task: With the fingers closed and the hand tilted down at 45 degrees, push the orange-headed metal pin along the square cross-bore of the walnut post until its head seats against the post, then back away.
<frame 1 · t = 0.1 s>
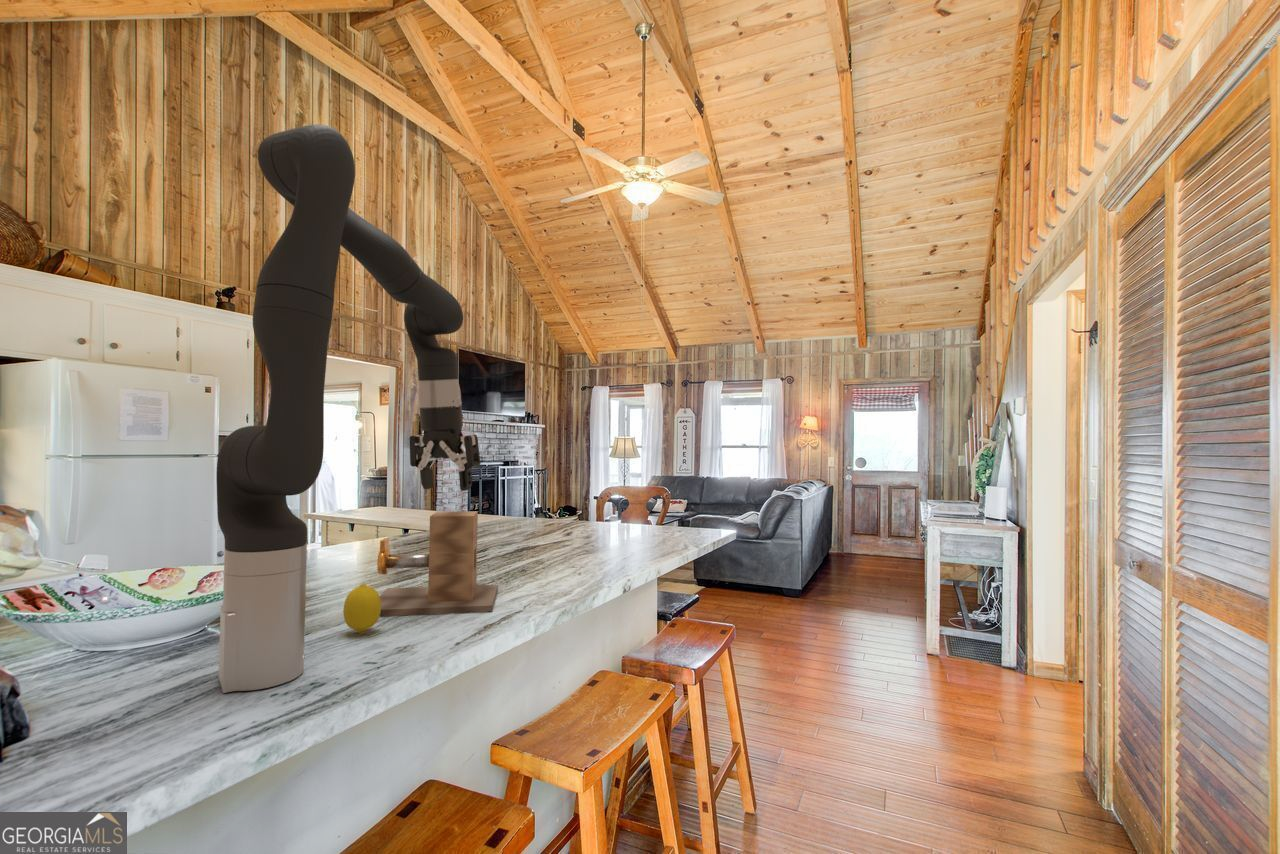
hand: (446, 489, 111), 22 cm above the countertop, tool pointing down, fingers open, 8 cm apart
hitch post: (453, 602, 114), on the countertop
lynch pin: (415, 556, 113), point 9 cm above the countertop, slide at 8.0 cm
lemon: (361, 634, 95), on the countertop
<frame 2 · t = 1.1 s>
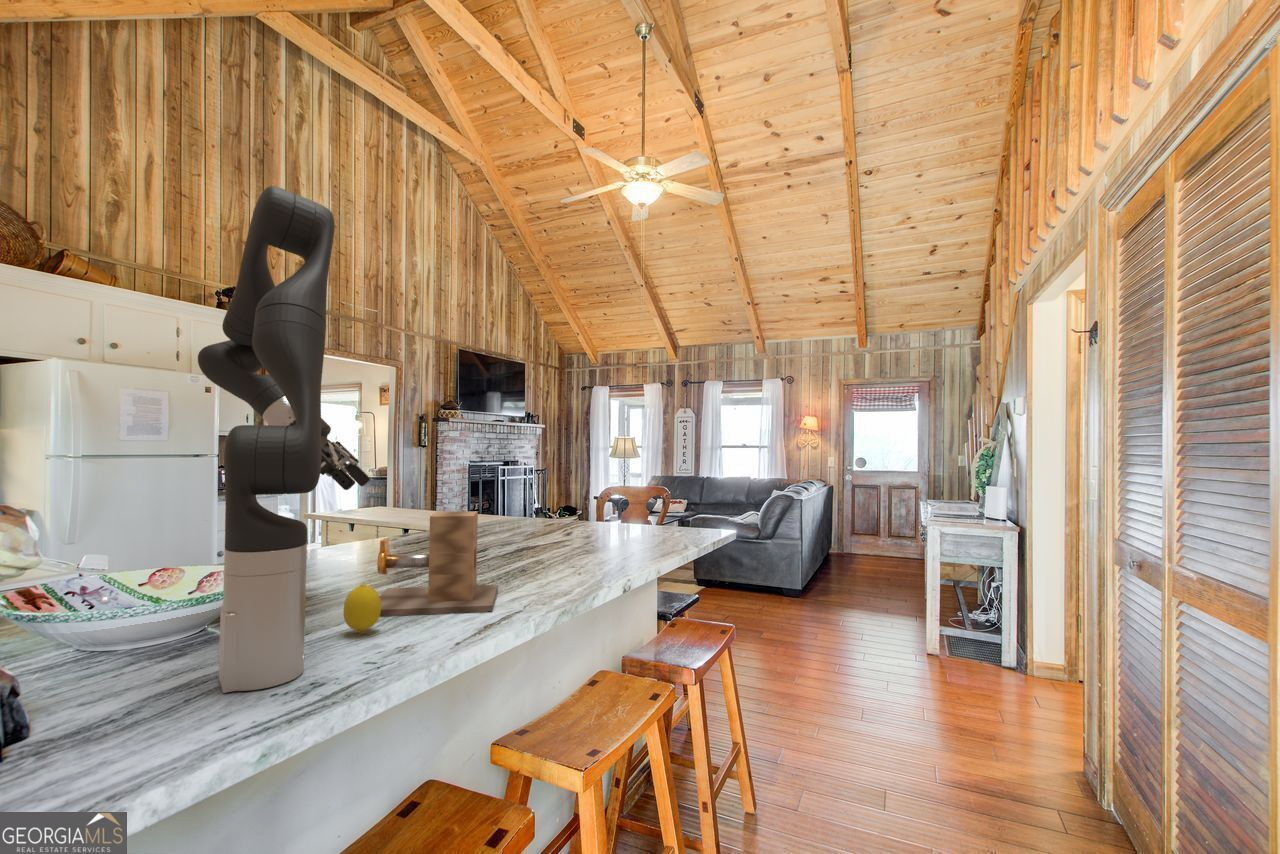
hand: (359, 484, 111), 23 cm above the countertop, tool tilted 45°, fingers open, 8 cm apart
nothing on the countertop moved.
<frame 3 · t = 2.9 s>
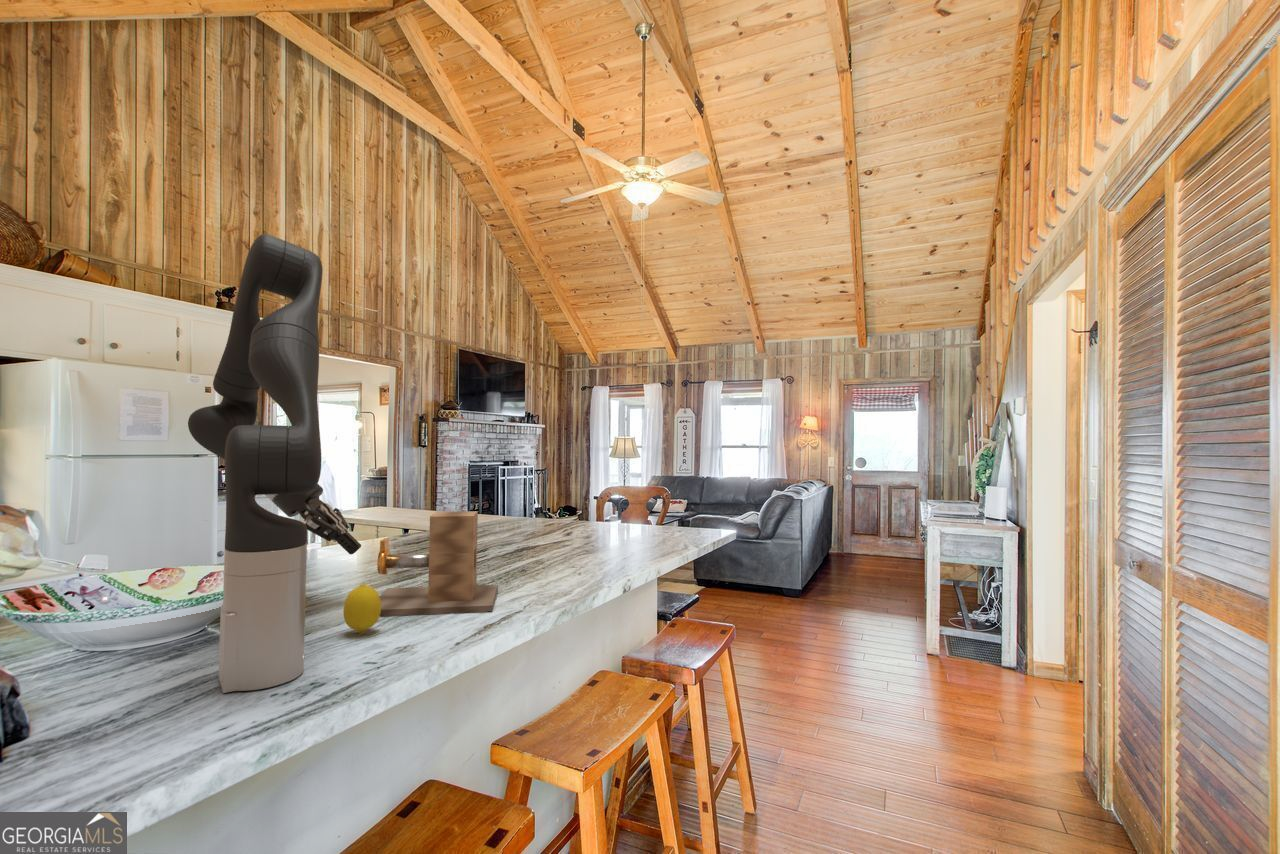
hand: (356, 550, 111), 10 cm above the countertop, tool tilted 45°, fingers closed
nothing on the countertop moved.
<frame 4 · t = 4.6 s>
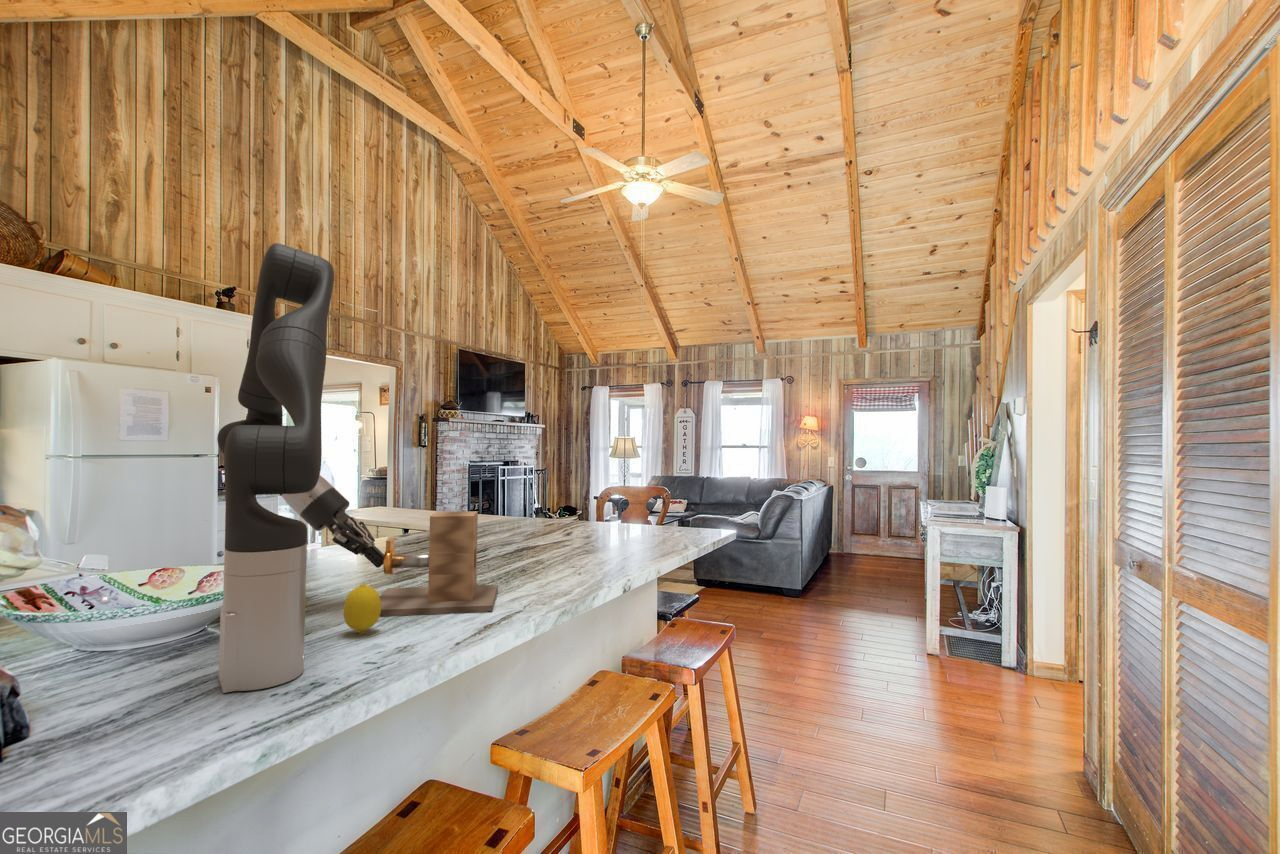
hand: (383, 563, 112), 8 cm above the countertop, tool tilted 45°, fingers closed
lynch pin: (420, 556, 113), point 9 cm above the countertop, slide at 6.9 cm, touching gripper
everything else where it was.
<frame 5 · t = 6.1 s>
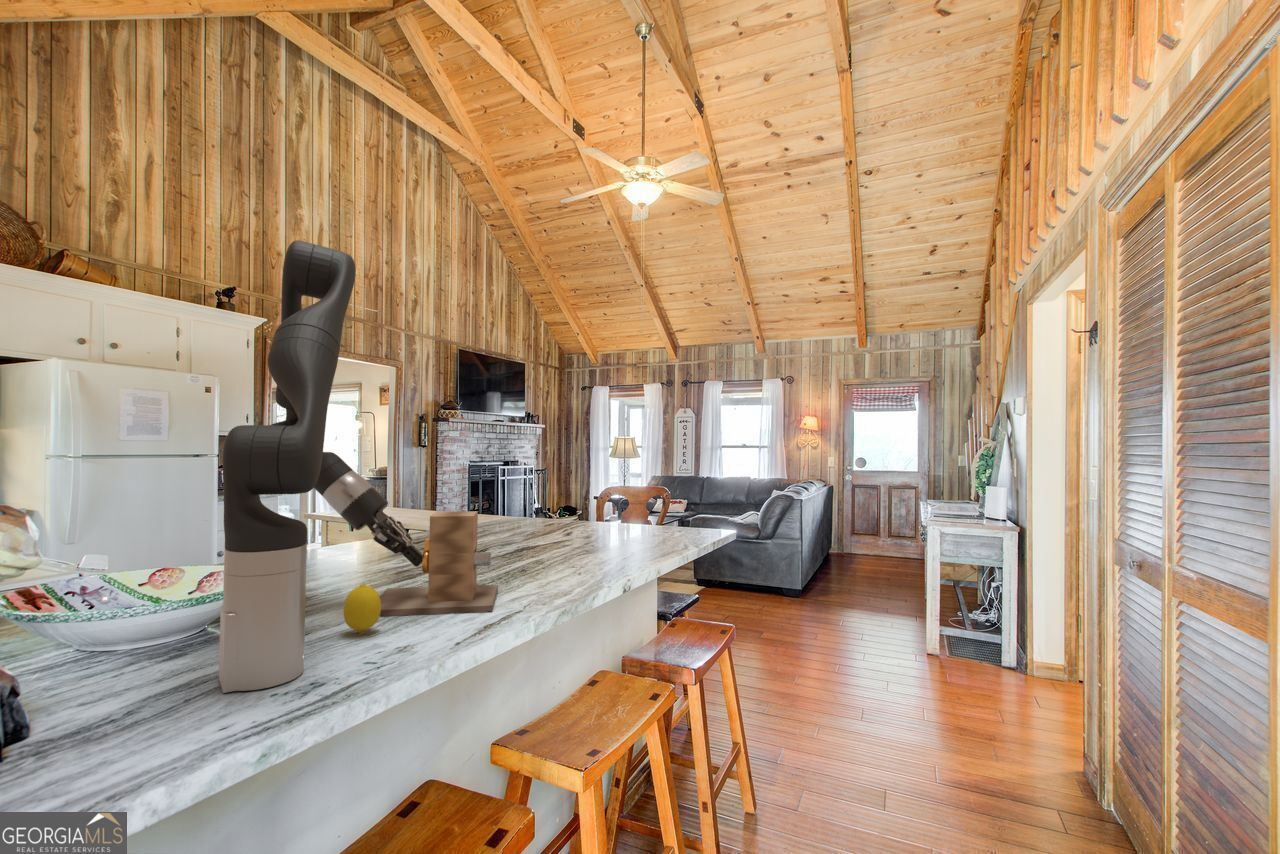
hand: (421, 562, 113), 8 cm above the countertop, tool tilted 45°, fingers closed
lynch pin: (458, 555, 114), point 9 cm above the countertop, slide at 0.0 cm, touching gripper
everything else where it was.
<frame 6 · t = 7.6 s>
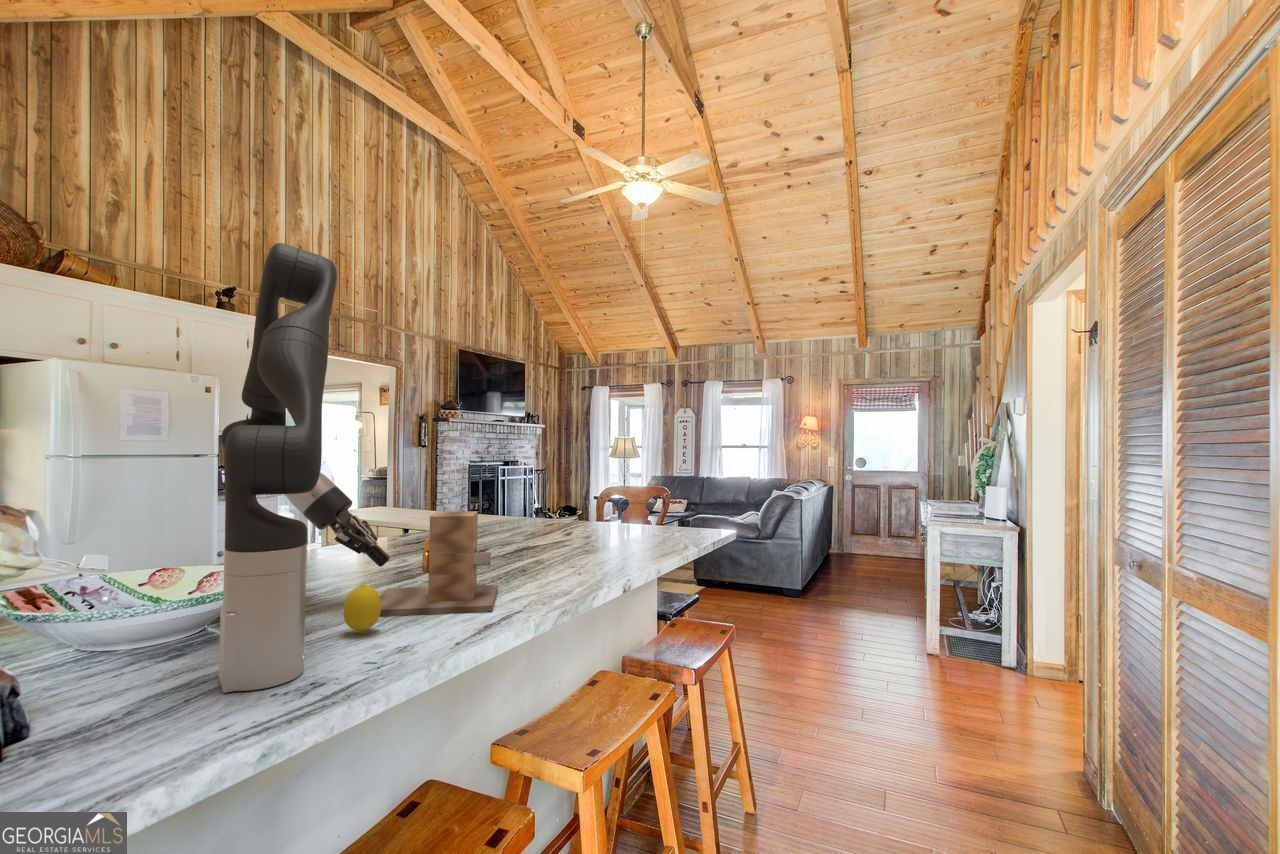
hand: (385, 562, 112), 8 cm above the countertop, tool tilted 45°, fingers closed
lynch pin: (458, 555, 114), point 9 cm above the countertop, slide at 0.0 cm
everything else where it was.
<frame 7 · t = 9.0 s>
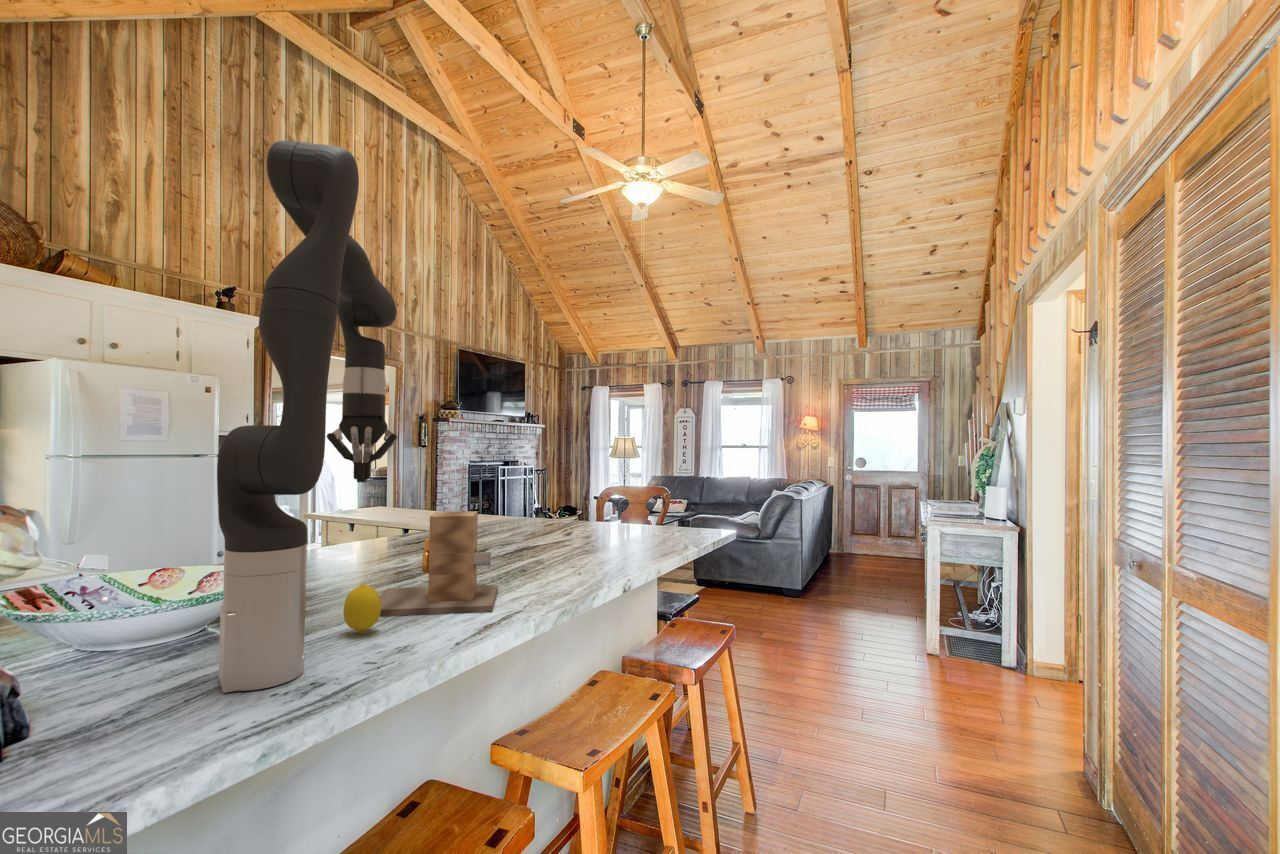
hand: (362, 482, 113), 23 cm above the countertop, tool pointing down, fingers closed
nothing on the countertop moved.
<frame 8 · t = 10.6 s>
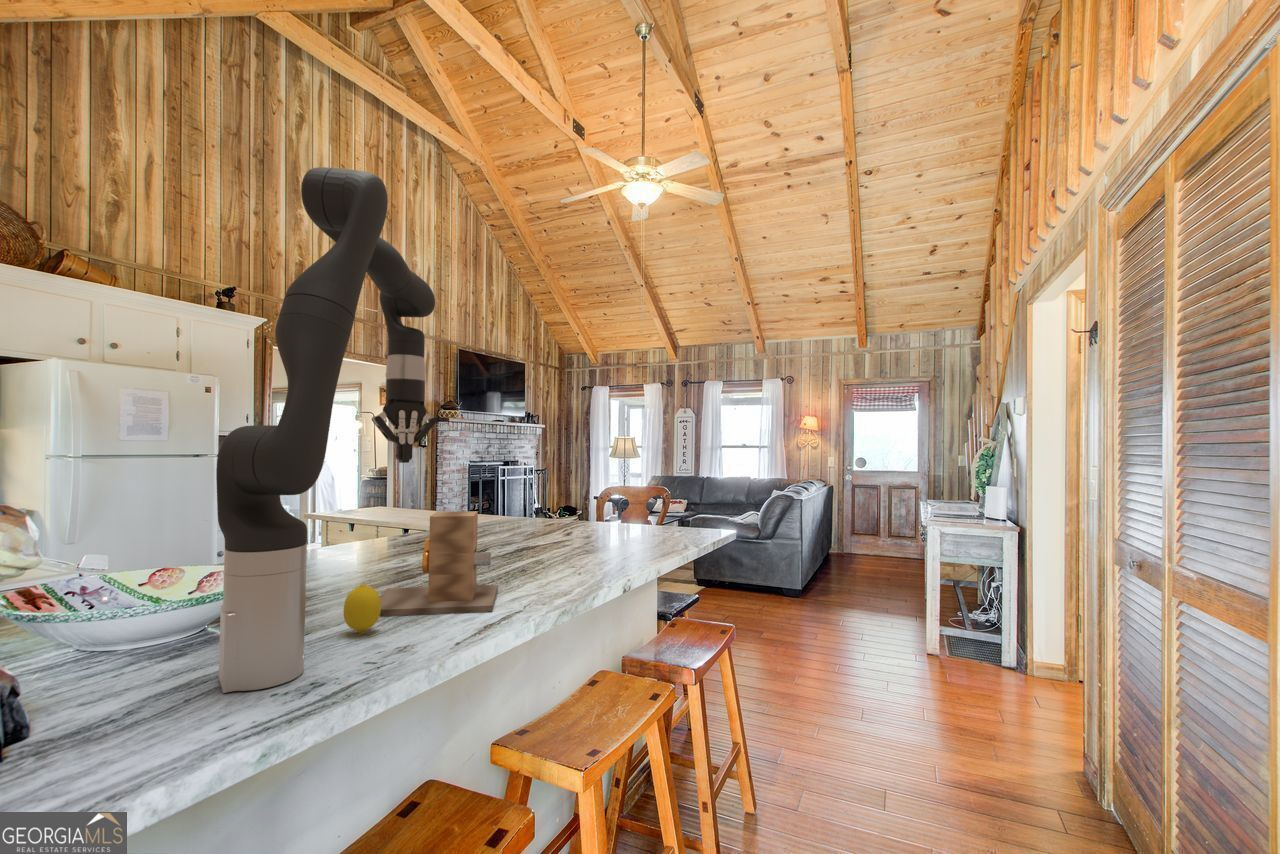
hand: (404, 462, 120), 27 cm above the countertop, tool pointing down, fingers closed
nothing on the countertop moved.
at the end: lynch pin slide at 0.0 cm; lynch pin touching nothing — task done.
